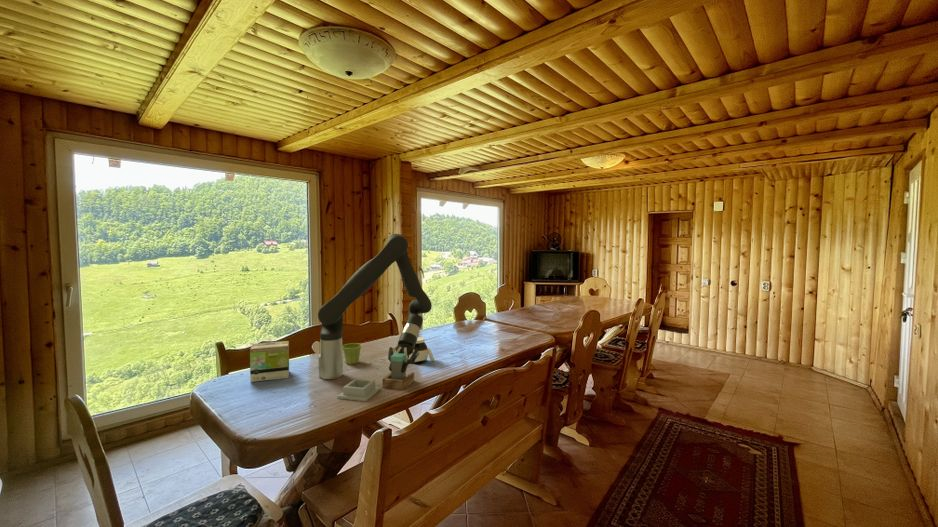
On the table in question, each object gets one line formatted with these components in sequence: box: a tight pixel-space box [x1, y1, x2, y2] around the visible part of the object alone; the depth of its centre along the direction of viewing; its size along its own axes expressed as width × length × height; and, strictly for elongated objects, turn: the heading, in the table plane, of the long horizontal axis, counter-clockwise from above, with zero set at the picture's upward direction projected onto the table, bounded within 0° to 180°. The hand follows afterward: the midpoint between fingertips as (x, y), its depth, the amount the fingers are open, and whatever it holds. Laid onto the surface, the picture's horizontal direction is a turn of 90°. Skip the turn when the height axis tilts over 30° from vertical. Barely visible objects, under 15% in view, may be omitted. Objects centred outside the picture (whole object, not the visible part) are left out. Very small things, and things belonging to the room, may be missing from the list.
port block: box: [337, 378, 381, 402], centre depth 150 cm, size 12×12×4 cm
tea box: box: [249, 340, 290, 383], centre depth 168 cm, size 15×10×15 cm, turn 114°
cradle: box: [382, 372, 415, 390], centre depth 160 cm, size 10×10×4 cm
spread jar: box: [409, 336, 435, 365], centre depth 190 cm, size 12×11×12 cm
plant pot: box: [342, 342, 363, 365], centre depth 188 cm, size 9×9×9 cm
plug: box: [390, 352, 407, 380], centre depth 159 cm, size 5×5×11 cm
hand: (396, 371), depth 158 cm, fingers closed on plug, 4 cm apart
